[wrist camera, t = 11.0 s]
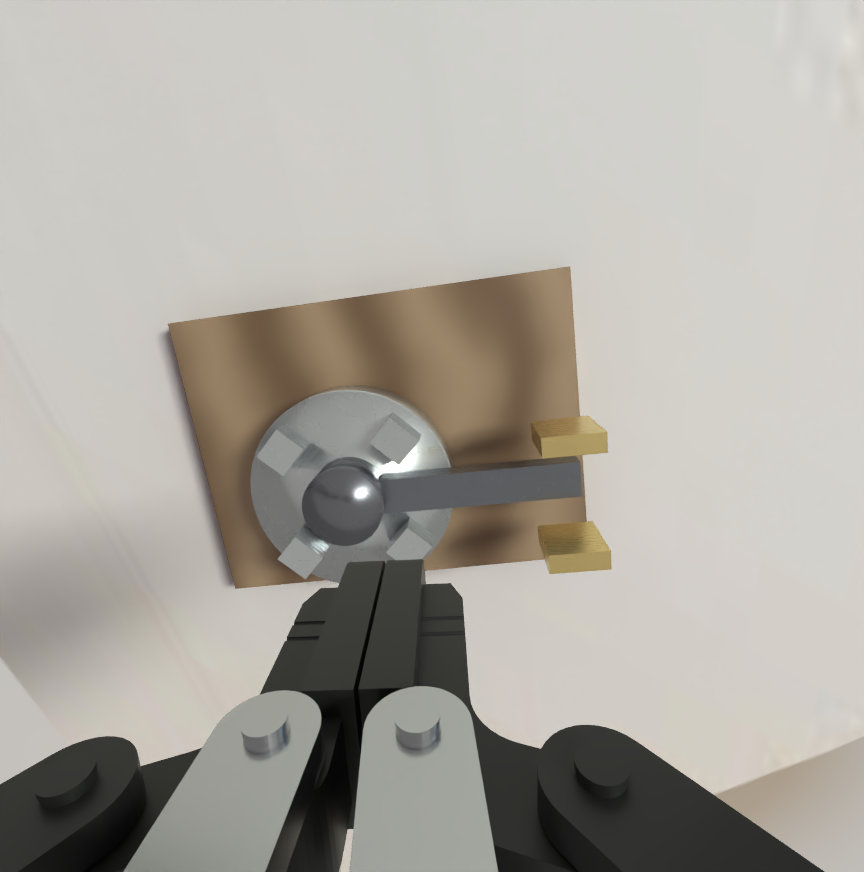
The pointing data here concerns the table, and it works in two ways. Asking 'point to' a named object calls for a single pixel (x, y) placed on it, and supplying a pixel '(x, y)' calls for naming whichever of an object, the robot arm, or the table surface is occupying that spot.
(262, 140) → the table surface
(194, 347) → the base plate
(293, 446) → the silver rotary lever
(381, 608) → the robot arm
